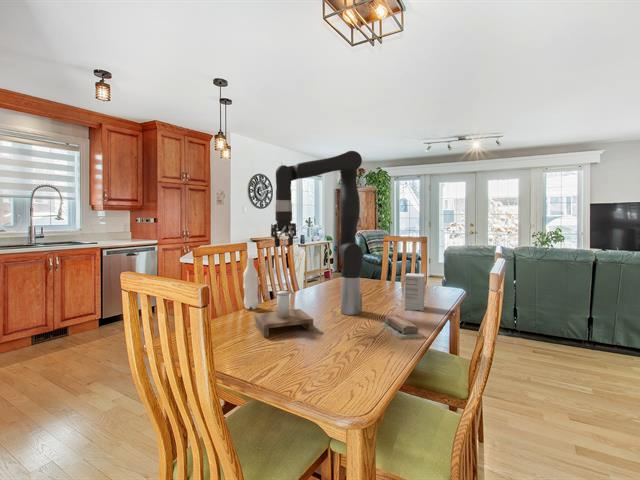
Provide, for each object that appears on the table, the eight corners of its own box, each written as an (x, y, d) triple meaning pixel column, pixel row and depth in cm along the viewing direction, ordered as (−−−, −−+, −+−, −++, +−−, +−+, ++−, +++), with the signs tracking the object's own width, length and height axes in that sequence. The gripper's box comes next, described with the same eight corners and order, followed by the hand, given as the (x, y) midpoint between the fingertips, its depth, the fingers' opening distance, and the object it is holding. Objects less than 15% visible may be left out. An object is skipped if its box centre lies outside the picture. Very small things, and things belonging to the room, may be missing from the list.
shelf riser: (300, 320, 156) (300, 308, 155) (313, 331, 141) (313, 318, 141) (255, 325, 148) (254, 313, 148) (264, 337, 133) (263, 324, 133)
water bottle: (255, 310, 171) (254, 259, 169) (241, 309, 173) (240, 259, 171) (260, 306, 178) (259, 257, 176) (247, 306, 180) (246, 257, 178)
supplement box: (423, 311, 169) (424, 276, 168) (404, 309, 172) (404, 275, 171) (424, 306, 178) (425, 273, 177) (405, 305, 181) (406, 272, 180)
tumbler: (287, 313, 147) (287, 290, 147) (291, 317, 143) (290, 292, 142) (275, 315, 146) (275, 291, 145) (278, 318, 141) (278, 293, 140)
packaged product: (380, 314, 148) (402, 313, 151) (380, 325, 149) (401, 324, 151) (400, 327, 131) (424, 325, 133) (399, 340, 131) (424, 338, 134)
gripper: (278, 210, 152) (279, 247, 153) (300, 210, 163) (300, 245, 164) (266, 210, 157) (267, 246, 158) (288, 210, 168) (288, 244, 169)
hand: (284, 246), depth 161 cm, fingers open, 8 cm apart
